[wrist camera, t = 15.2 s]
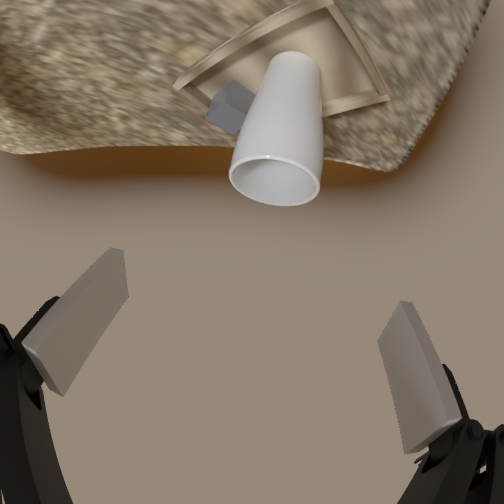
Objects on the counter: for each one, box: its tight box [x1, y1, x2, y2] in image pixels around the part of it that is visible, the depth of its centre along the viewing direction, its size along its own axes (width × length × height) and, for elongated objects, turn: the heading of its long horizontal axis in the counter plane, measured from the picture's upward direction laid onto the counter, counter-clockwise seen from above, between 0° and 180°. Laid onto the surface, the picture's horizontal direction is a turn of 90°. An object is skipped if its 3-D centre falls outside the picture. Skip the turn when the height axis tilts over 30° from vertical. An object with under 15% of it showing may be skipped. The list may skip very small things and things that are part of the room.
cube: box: [204, 80, 255, 135], centre depth 29 cm, size 4×4×4 cm
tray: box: [173, 0, 390, 137], centre depth 25 cm, size 20×13×2 cm, turn 130°
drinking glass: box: [229, 51, 324, 206], centre depth 22 cm, size 7×7×15 cm
